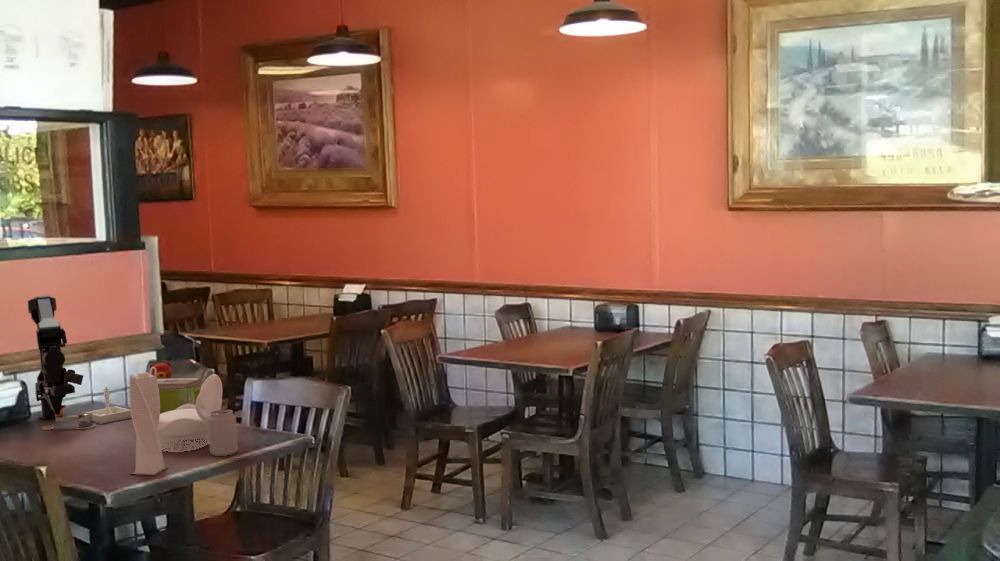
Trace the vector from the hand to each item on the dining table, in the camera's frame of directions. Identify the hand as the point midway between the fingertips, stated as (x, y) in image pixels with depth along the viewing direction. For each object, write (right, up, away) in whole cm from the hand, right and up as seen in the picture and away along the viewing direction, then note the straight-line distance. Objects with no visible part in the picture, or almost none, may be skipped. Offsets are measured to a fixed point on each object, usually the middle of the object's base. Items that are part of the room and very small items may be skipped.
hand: (57, 414), depth 326 cm
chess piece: (+11, -3, +14) cm, 18 cm away
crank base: (+8, -4, +3) cm, 9 cm away
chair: (+49, -6, -25) cm, 56 cm away
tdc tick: (-4, -5, +2) cm, 7 cm away
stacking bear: (+29, -3, +13) cm, 32 cm away
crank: (+4, -4, +3) cm, 6 cm away
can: (+62, -6, -37) cm, 72 cm away
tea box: (+37, -4, -2) cm, 38 cm away
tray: (+11, -3, +14) cm, 18 cm away
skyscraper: (+47, -9, -53) cm, 71 cm away
